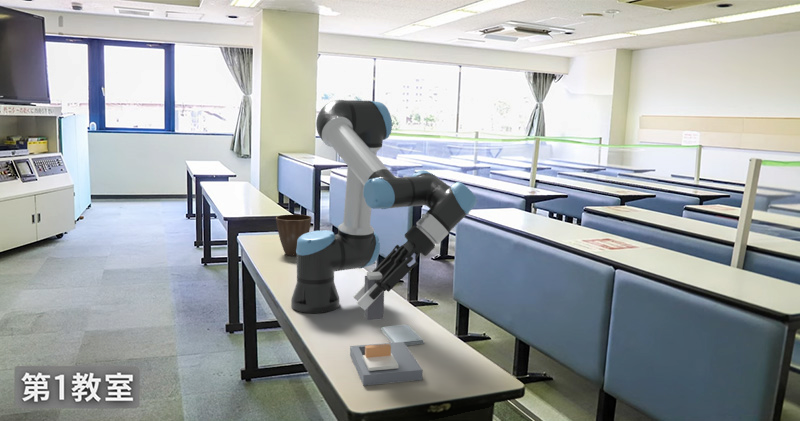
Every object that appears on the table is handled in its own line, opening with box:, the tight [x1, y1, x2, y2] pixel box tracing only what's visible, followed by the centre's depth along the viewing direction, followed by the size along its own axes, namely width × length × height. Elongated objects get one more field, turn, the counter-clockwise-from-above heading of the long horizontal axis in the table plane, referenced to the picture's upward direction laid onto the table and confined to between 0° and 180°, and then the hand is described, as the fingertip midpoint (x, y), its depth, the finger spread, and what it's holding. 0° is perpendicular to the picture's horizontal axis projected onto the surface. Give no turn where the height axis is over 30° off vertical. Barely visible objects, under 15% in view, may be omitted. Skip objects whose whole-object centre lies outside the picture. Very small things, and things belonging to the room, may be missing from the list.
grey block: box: [363, 271, 385, 321], centre depth 144 cm, size 4×4×11 cm
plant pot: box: [275, 214, 312, 257], centre depth 250 cm, size 15×15×16 cm
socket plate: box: [349, 342, 424, 386], centre depth 143 cm, size 17×14×2 cm
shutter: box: [363, 343, 398, 371], centre depth 138 cm, size 7×7×3 cm
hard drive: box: [380, 324, 425, 347], centre depth 162 cm, size 2×8×12 cm
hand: (358, 303), depth 143 cm, fingers closed on grey block, 4 cm apart
